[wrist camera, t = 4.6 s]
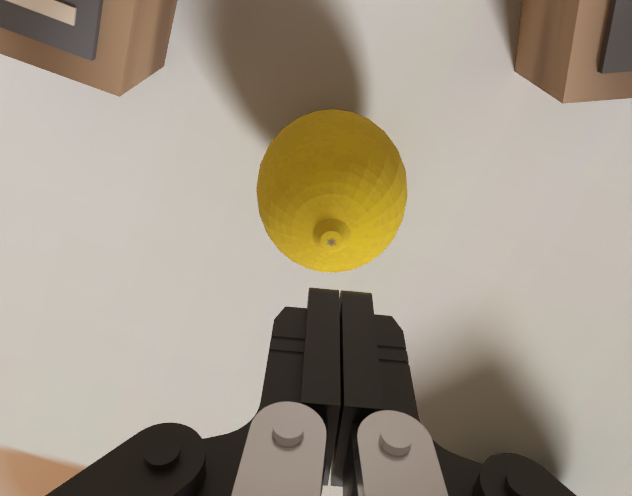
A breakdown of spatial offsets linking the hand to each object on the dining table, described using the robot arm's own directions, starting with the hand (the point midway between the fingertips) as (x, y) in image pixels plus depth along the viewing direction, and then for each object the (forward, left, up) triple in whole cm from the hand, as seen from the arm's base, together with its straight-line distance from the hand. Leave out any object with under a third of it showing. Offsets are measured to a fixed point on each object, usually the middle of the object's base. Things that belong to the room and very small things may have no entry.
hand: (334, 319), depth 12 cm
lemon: (0, 0, -12) cm, 12 cm away
